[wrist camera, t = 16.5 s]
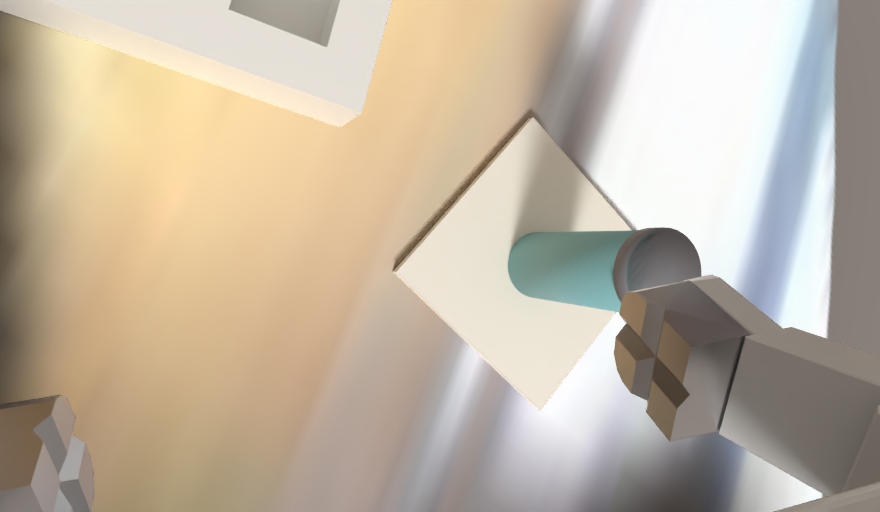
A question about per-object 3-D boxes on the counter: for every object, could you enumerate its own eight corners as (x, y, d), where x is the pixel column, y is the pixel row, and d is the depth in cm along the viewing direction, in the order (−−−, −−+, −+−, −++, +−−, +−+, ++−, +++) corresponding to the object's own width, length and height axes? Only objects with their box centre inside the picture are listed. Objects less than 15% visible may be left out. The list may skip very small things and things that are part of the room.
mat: (534, 408, 40) (540, 410, 39) (392, 271, 37) (396, 272, 36) (650, 258, 43) (656, 259, 42) (528, 118, 39) (533, 117, 39)
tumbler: (516, 309, 39) (637, 334, 28) (498, 242, 38) (614, 243, 28) (574, 287, 40) (710, 303, 30) (557, 221, 40) (689, 216, 29)
